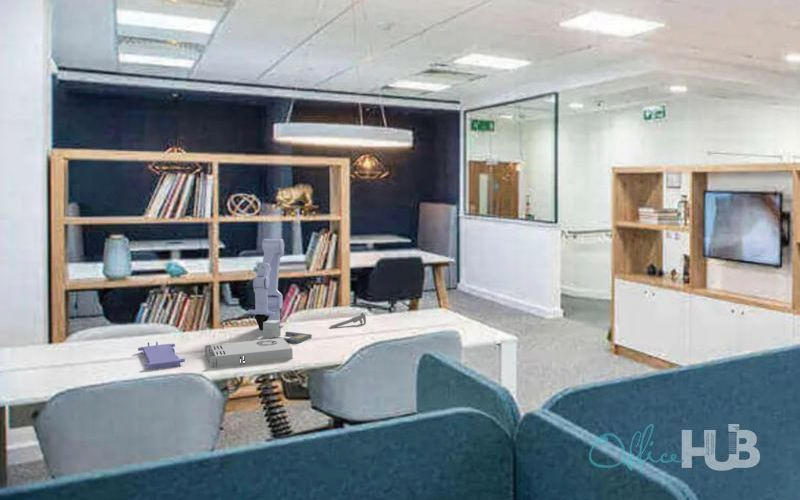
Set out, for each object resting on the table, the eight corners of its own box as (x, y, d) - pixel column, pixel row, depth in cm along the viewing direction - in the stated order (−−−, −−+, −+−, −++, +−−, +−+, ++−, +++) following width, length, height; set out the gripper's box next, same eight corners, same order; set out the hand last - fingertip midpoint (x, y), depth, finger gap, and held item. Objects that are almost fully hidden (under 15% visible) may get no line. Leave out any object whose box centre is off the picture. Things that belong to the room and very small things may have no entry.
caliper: (364, 323, 329) (364, 311, 328) (365, 324, 328) (365, 312, 328) (328, 328, 319) (328, 316, 318) (329, 329, 318) (329, 316, 317)
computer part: (174, 348, 282) (137, 352, 275) (173, 338, 282) (137, 343, 275) (185, 366, 256) (145, 371, 249) (185, 355, 255) (145, 360, 248)
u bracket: (272, 340, 294) (272, 337, 294) (287, 334, 305) (287, 331, 305) (297, 343, 289) (297, 340, 289) (311, 337, 300) (311, 334, 299)
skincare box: (274, 338, 298) (274, 323, 297) (262, 337, 300) (262, 322, 299) (280, 335, 304) (280, 320, 303) (269, 334, 305) (268, 319, 305)
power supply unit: (204, 356, 270) (204, 345, 269) (282, 348, 283) (282, 337, 282) (210, 369, 253) (209, 357, 252) (292, 360, 265) (292, 348, 265)
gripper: (243, 302, 301) (244, 330, 303) (269, 304, 295) (269, 333, 297) (253, 299, 308) (253, 327, 309) (278, 302, 302) (278, 330, 303)
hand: (262, 330), depth 304 cm, fingers closed
